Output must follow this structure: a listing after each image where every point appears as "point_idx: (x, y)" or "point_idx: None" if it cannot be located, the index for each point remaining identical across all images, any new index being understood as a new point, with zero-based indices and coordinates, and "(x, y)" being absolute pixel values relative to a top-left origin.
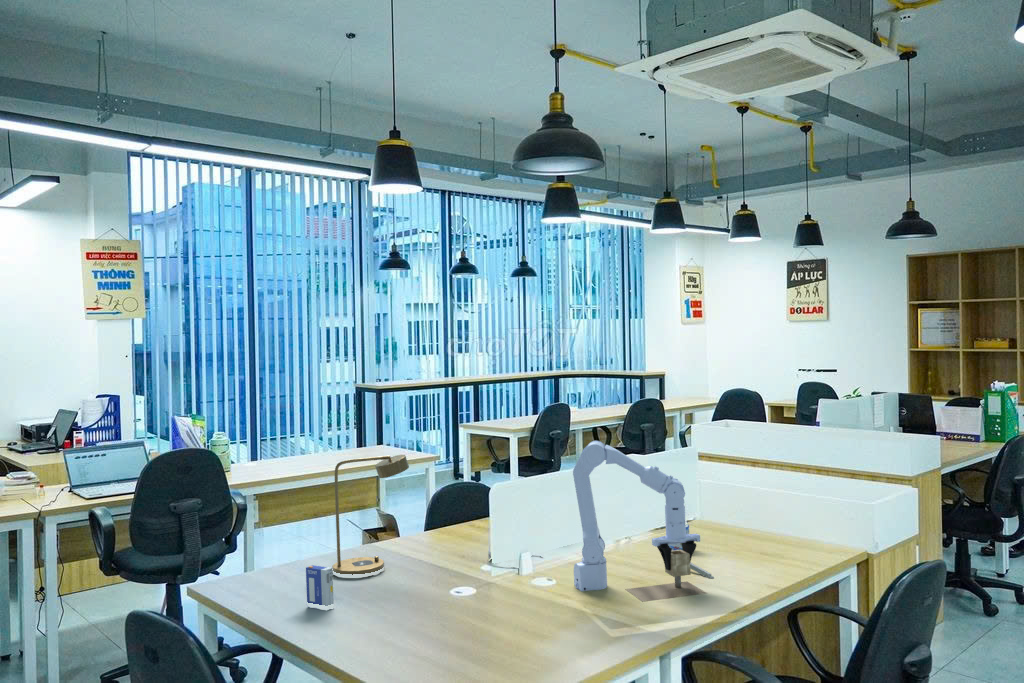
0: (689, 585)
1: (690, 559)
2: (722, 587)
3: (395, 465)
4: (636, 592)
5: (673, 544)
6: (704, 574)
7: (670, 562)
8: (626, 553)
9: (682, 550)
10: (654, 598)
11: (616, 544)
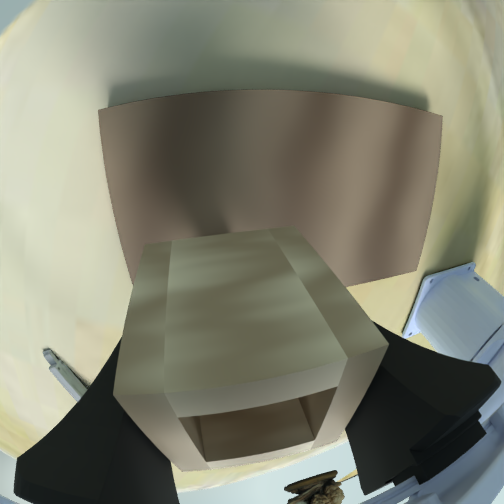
0: None
1: (112, 359)
2: (16, 258)
3: None
4: (412, 224)
5: None
6: (70, 376)
7: None
8: (230, 469)
9: (176, 462)
10: (399, 122)
11: (228, 483)
